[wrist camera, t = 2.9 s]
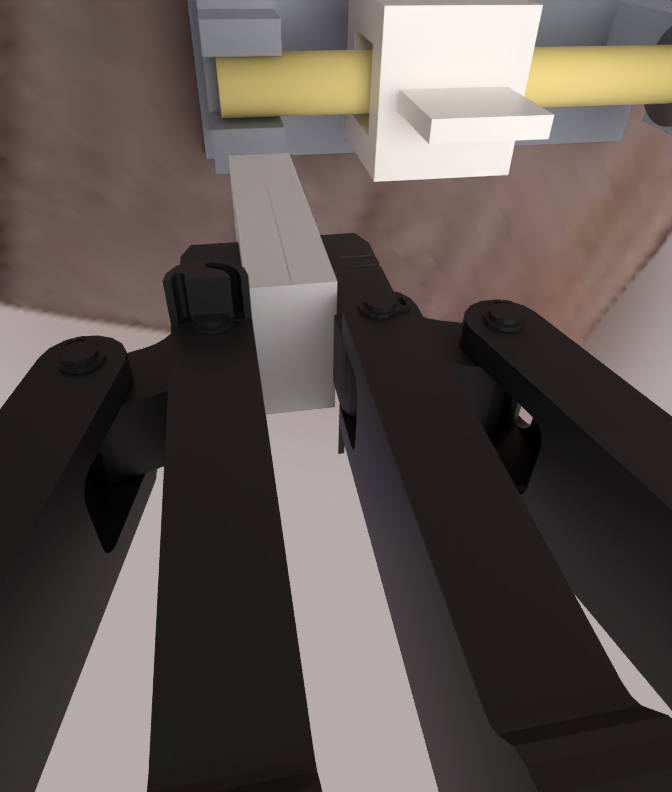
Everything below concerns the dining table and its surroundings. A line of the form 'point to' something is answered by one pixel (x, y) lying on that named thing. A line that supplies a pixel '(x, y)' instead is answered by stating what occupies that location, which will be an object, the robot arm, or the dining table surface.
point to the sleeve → (444, 86)
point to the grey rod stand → (351, 73)
